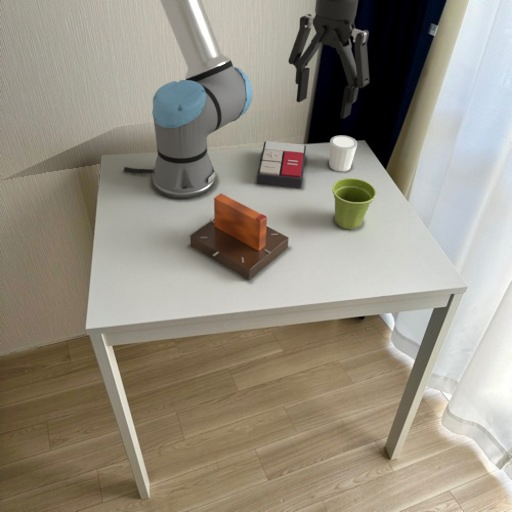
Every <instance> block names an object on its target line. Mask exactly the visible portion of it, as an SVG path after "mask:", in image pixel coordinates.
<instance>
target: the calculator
mask: <svg viewBox="0 0 512 512" xmlns="http://www.w3.org/2000/svg"><path fill="white" fill-rule="evenodd" d="M306 151H307V145H305V144H301V143H290V142H279V141H270V140H265V141H264V142H263V145H262V150H261V156H260V159H259V165H258V168H257V169H258V170H257V175H256V176H257V178H256V180H257V181H256V183H257V185H262V186H263V185H264V186H273V187H281V188H282V187H284V188H292V189H302V187H303V177H304V170H305V169H304V168H305V160H306Z"/></svg>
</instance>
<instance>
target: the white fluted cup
mask: <svg viewBox="0 0 512 512" xmlns="http://www.w3.org/2000/svg"><path fill="white" fill-rule="evenodd" d="M357 146H358V141H357V140H356V139H355V138H353V137H351V136H349V135H335V136H332V137H331V138H330V139H329V158H328V159H329V160H328V165H329V168H330V169H332V170H333V171H336V172H347V171H349V170H351V167H352V165H353V164H352V163H353V160H354V157H355V153H356V150H357V148H358V147H357Z"/></svg>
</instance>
